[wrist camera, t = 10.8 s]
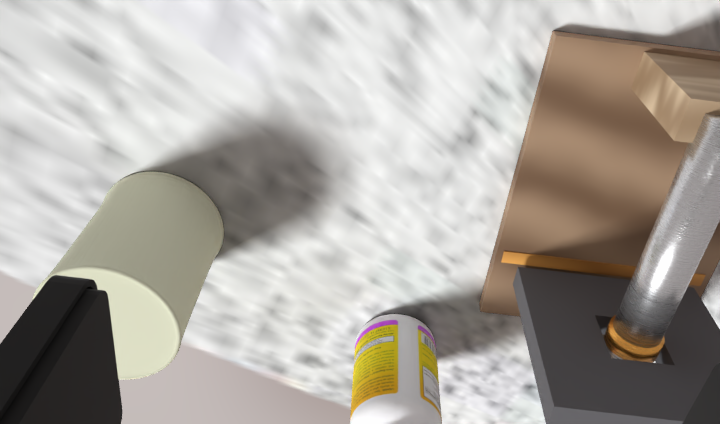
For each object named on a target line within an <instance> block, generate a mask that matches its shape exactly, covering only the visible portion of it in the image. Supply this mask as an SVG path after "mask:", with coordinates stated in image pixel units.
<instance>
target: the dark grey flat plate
mask: <svg viewBox="0 0 720 424" xmlns="http://www.w3.org/2000/svg"><path fill="white" fill-rule="evenodd" d="M630 281H631V280H625V279H616V278H608V277H600V276H591V275H583V274H575V273H566V272H558V271H549V270H541V269H533V268H524V267H518V268H517V271H516V275H515V278H514V281H513V287H514V291H515V295H516V300H517V304H518V308H519V312H520V316H521V321H522V325H523V329H524V333H525V337H526V341H527V346H528V350H529V354H530V358H531V362H532V366H533V371H534V375H535V379H536V383H537V387H538V392H539V396H540V400H541V404H542V408H543V412H544V417H545V421H546V424H682V423H683V422H684V420H685V418H686V416H687V415H688V413H689V411H690V409H691V407H692V406H693V404H694V402H695V400H696V398H697V397H698V395H699V393H700V391H701V389H702V388H703V386H704V384H705V382H706V380H707V379H708V377H709V375H710V373H711V372H712V370H713V368H714V367H715V366H716V365H717V364H719V363H720V329H719V328H718V326H717V325H716V323H715V321H714V320H713V318H712V316H711V315H710V313H709V311H708V310H707V308H706V307H705V305H704V303H703V302H702V300H701V298H700V297H699V295H698V294H697V292H696V290H695V289H694V288H692V287H687V289H686V291H685V293H684V295H683V298H682V300H681V302H680V304H679V306H678V308H677V310H676V312H675V314H674V316H673V318H672V320H671V322H670V324H669V326H668V329H667V331H666V333H665V335H664V338H665V342H664V345H663V347H662V349H661V351H660V353H659V355H658V357H657V359H656V360H655V361H656V363H650V362H642V361H633V360H625V359H616V358H611V356H610V353H609V350H608V348H607V345H606V343H605V340H604V337H603V335H604V334H605V332H606V329H607V327H608V325H609V322H610V320H611V318H612V317H613V316H615V315H616V314H617V312H618V309H619V307H620V305H621V302H622V300H623V298H624V295H625V293H626V290H627V288H628V286H629V283H630ZM602 334H603V335H602Z"/></svg>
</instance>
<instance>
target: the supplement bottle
mask: <svg viewBox="0 0 720 424" xmlns="http://www.w3.org/2000/svg"><path fill="white" fill-rule="evenodd" d="M350 424H442V418H441V407H440V394H439V381H438V367H437V355H436V345H435V340H434V337H433V334H432V333H431V331H430V330H429V328H428V327H427V326H426V325H425V324H424V323H422V322H421V321H419V320H417V319H415V318H413V317H410V316H407V315H401V314H388V315H383V316H379V317H377V318H374V319H373V320H371V321H369V322H368V323H367V324H366V325H364V326H363V328H362V329H361V330H360V332H359V334H358V336H357V339H356V345H355V357H354V372H353V387H352V402H351V417H350Z"/></svg>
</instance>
